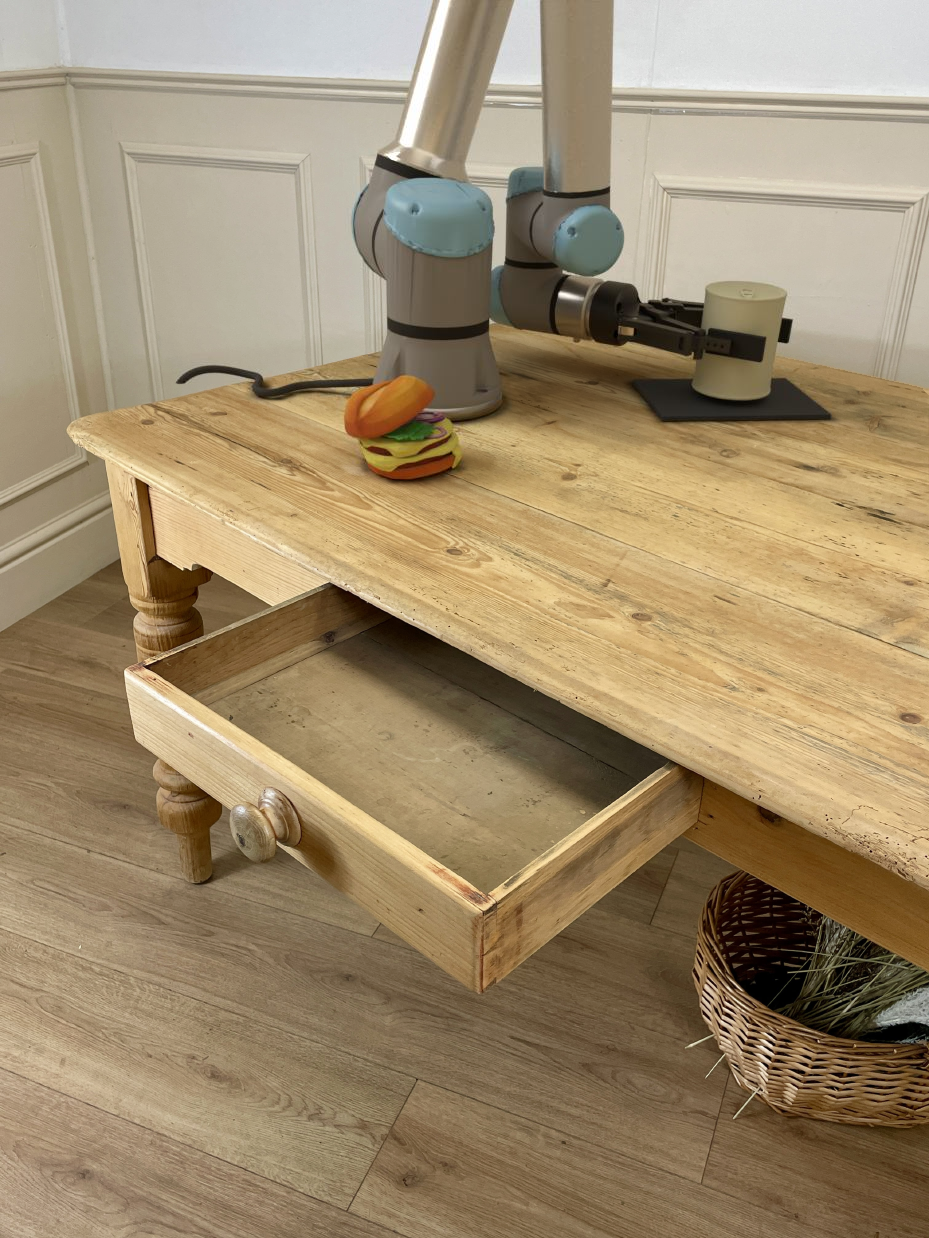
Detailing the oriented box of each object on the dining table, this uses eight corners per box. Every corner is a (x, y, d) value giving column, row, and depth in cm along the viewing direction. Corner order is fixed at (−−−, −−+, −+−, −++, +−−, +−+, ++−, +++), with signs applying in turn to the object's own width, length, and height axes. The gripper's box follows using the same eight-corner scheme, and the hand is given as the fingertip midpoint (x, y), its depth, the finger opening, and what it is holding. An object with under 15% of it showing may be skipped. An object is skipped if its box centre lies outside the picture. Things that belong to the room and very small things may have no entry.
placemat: (662, 421, 113) (663, 416, 113) (631, 383, 125) (632, 379, 124) (830, 419, 115) (831, 414, 115) (784, 382, 127) (785, 377, 127)
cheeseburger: (464, 485, 95) (440, 386, 90) (357, 506, 96) (327, 410, 91) (465, 446, 104) (444, 353, 99) (367, 466, 105) (340, 376, 100)
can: (692, 397, 116) (707, 292, 110) (690, 374, 124) (703, 274, 117) (773, 403, 115) (793, 296, 108) (766, 379, 122) (784, 278, 116)
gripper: (632, 323, 134) (799, 351, 123) (556, 361, 118) (739, 396, 108) (638, 265, 130) (811, 289, 120) (560, 296, 114) (750, 327, 104)
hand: (777, 340), depth 114 cm, fingers closed on can, 9 cm apart
